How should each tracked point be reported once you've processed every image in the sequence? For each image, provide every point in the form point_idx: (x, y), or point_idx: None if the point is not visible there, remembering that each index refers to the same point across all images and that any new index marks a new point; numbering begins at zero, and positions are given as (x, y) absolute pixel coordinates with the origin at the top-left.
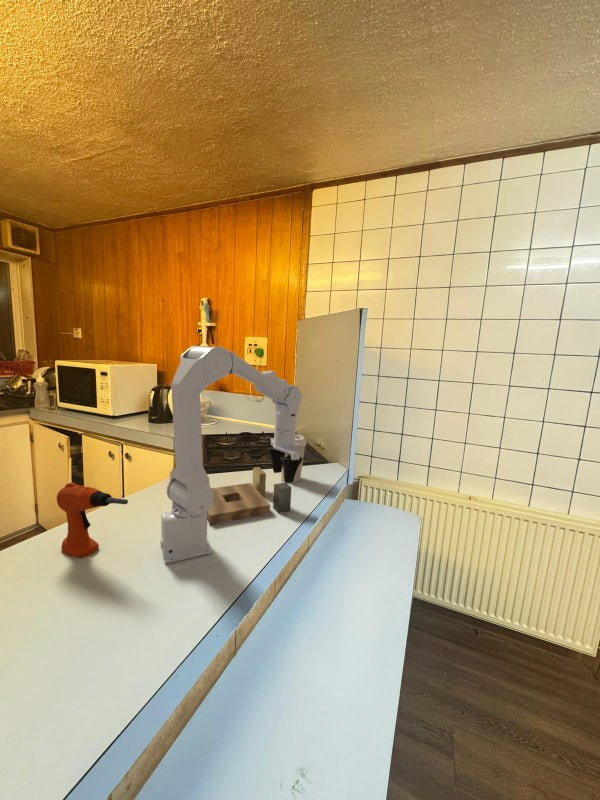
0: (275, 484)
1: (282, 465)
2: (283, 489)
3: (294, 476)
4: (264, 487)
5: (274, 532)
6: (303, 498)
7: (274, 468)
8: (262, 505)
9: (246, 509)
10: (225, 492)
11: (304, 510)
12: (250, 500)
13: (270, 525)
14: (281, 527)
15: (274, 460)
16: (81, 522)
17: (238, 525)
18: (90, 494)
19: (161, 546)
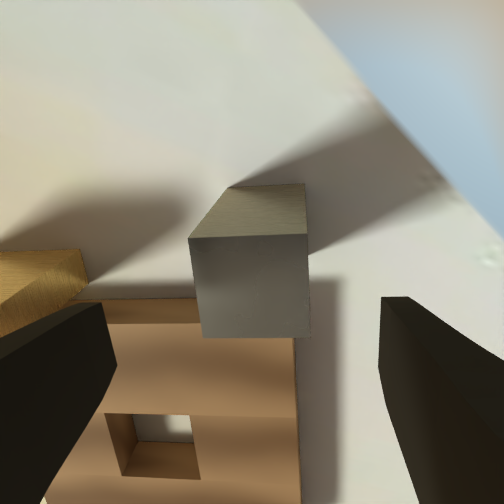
0: (212, 331)
1: (51, 332)
2: (308, 299)
3: (444, 323)
4: (51, 275)
5: (475, 334)
6: (155, 16)
7: (94, 405)
8: (285, 359)
9: (296, 430)
10: (94, 457)
11: (326, 88)
12: (208, 390)
13: None
14: (449, 291)
15: (27, 494)
16: None
17: (345, 436)
18: None
19: None
